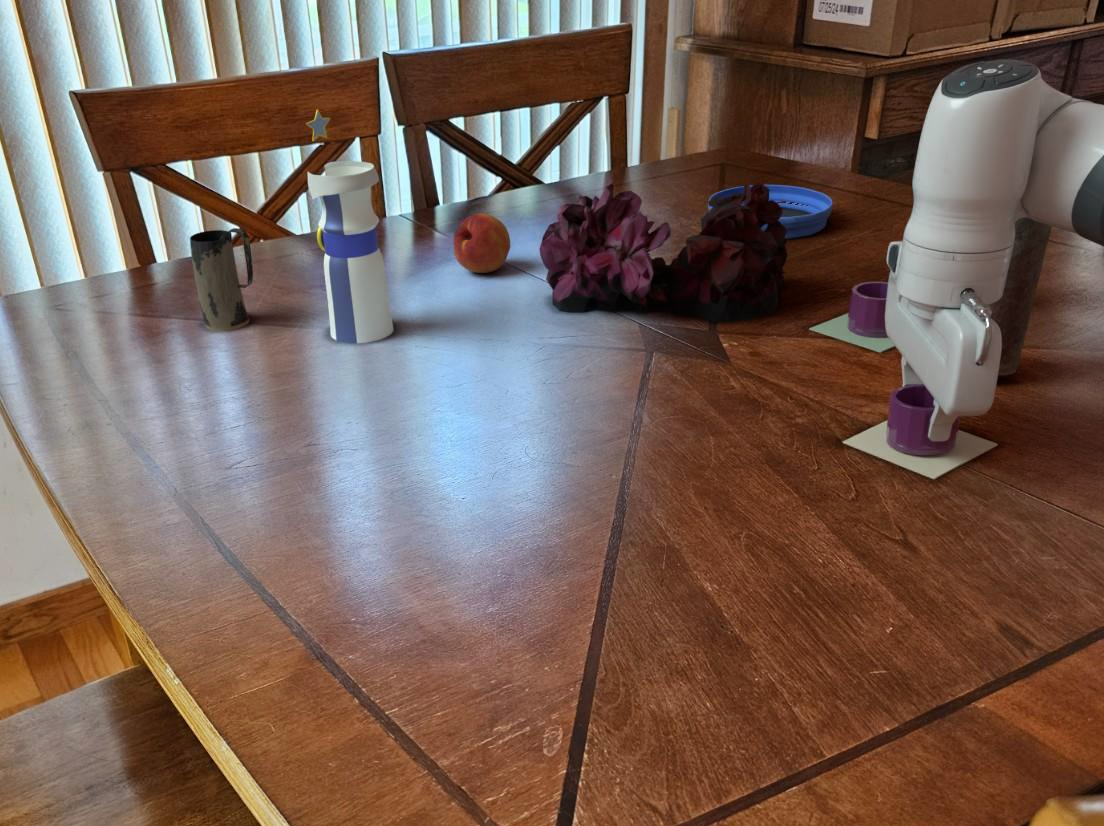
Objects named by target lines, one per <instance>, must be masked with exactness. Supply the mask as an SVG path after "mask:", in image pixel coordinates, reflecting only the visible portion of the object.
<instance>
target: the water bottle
mask: <svg viewBox="0 0 1104 826" xmlns="http://www.w3.org/2000/svg"><path fill="white" fill-rule="evenodd" d="M314 115H315V116H314V119H312V120H311V121H308V122H306V123H305V124H306V126H307V127H309V128H310V129H311V130H312V140H311V141H312V142H314V141H315V140H317V139H318V138H320V137H322V138H324V139H328V134H327V130H326V126H327V125H328V124H329V122H330V121H331V117H323V116H322V115H321V113H320V111H319V109H316V112H315V114H314ZM323 168H324V174H325V175H321V174H320V175H318V174H313V173H310V172H309V171H307V184H308V185H307V186H308V191H309V194H310V196H311V199H312V200H315V199H316V198H319V200H320V202H321V217H320V219H319V221H318V228H317V233H316V240H317V244H318V247H319V248H320V250H321V251H323V252H324V257H323V272H324V279H325V289H326V297H327V298H326V299H327V307H328V317H329V330H330V337H331V338H332V339H333V340H334V341H336V342H339V343H344V344H367V343H373V342H377V341H381V340H383V339H385V338H387V337H389V336H391V335H392V334H393V332H394V324H393V317H392V312H391V305H390V300H389V299H390V298H389V293H388V291H389V290H388V283H387V276H386V268H385V262H384V261H385V260H384V257H383V254H382V252H381V250H380V248H379V242H378V241H379V240H378V231H377V225H378V224H379V223H380V218H379V217H378V216H377V214H376V212H375V211H374V208H373V204H372V187H373V186H374V185H376V184H378V183H379V181H380V177H379V174H378V172H377V170H376V167H375V165H374V164H373V163H371V162H367V161H354V160H341V161H340V160H339V161H330V162H327V163H326V164H325V165H323Z"/></svg>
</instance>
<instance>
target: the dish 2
mask: <svg viewBox="0 0 1104 826" xmlns="http://www.w3.org/2000/svg"><path fill="white" fill-rule="evenodd" d="M933 403H934V397H933V396H932V395H931V393H930V392H929V391H928V389H927V388H926V387H925V385H924V384H919V385H909V386H904V387H902V386H901V387H898V388H896V389H893V391H892V392H891V393H890V395H889V404H888V412H887V413H888V414H887V420H888V421H887V420H886V421H887V430H886V442H887V444H888V445H889V446H890V447H892V448H893V449H895V450H898V451H900V452H904V453H908V454H914V455H936V454H941V453H945V452H948V451H950V450H951V449H953V448H954V447H955V445H956V440H957V437H958V430H960V422H961V416H958V417H957V419H956V420H955V421H954V423H953V424H952V428H951V433H950V437H949V439H948V440H946V441H931V440H930V439H929V437H928V436H927V434H926V433H925V428H926V422H927V417H932V414H933V412H934V409H935V406H934V404H933Z"/></svg>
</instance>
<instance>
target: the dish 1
mask: <svg viewBox="0 0 1104 826" xmlns="http://www.w3.org/2000/svg"><path fill="white" fill-rule="evenodd" d="M887 288H888V281H866V282H859V283H858V284H855V285H854V286H853V287H852V288H851V291H850V298H849V306H848V312H847V313H848V320H847V321H848V324H847V328H848V330H849V331H850V332H852V333H854V334H857V335H860V336H864V337H870V338H887V337H888V336H887V333H886V327H885V309H886V297H887Z"/></svg>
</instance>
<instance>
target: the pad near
mask: <svg viewBox="0 0 1104 826" xmlns="http://www.w3.org/2000/svg"><path fill="white" fill-rule="evenodd" d="M887 421H888V419H886V420H885V421H883V422H881V423H878V424H877V425H874V426H872V427H870V428H868V429H866V430H864V431H861V432H860V433H858V434H856V435H853V436H851V437H848V438H847V439H845V440H843V441H842V444H844V445H847V446H850V447H852V448H854V449H857V450H859V451H861V452H864V453H867V454H869V455H872V456H874V457H876V458H879V459H882V460H884V461H887V462H889V463H892V464H894V465H896V466H899V467H902V468H905V469H907V470H909V471H912V472H914V473H916V474H919V475H922V476H924V477H927V478H928V479H929V478H930V479H932V480H937V479H938V478H940V477H942V476H943V475H945V474H947V473H949V472H951V471H953V470H955V469H957V468H958V467H960V466H962V465H965V464H966V463H968V462H969V461H971V460H974V459H976V458H977V457H979V456H980V455H982V454H985V453H986V452H988V451H990V450H991V449H994V448H995V447H997V446H998V444H999V443H996V442H994V441H991V440H988V439H985V438H982V437H980V436H976V435H974V434H971V433H969V432H965V431H963V430H960V429H959V430H958V437H957V440H956V445H955V447H954V448H953V449H951V450H950V451H948V452H945V453H941V454H936V455H914V454H908V453H904V452H900V451H898V450H895V449H893V448H892V447H890V446H889V445H888V444H887V442H886V430H887Z"/></svg>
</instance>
